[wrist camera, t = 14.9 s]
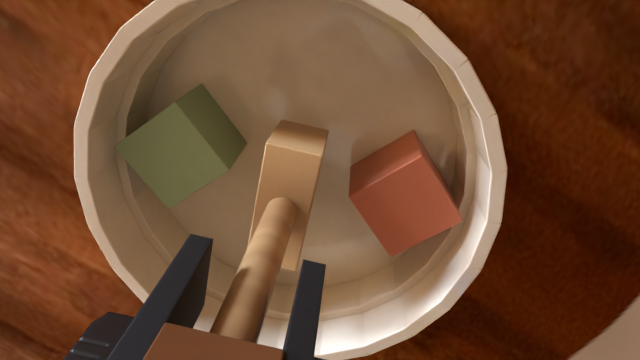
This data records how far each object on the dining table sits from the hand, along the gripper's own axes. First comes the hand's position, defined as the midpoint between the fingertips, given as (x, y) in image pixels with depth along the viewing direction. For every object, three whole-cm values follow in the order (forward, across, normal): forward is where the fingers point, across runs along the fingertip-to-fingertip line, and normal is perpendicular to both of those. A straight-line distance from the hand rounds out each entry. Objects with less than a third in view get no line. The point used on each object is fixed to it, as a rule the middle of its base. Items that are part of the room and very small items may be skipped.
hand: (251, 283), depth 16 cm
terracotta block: (+12, +6, 0) cm, 13 cm away
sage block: (+12, -6, 0) cm, 13 cm away
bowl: (+12, 0, 0) cm, 12 cm away
